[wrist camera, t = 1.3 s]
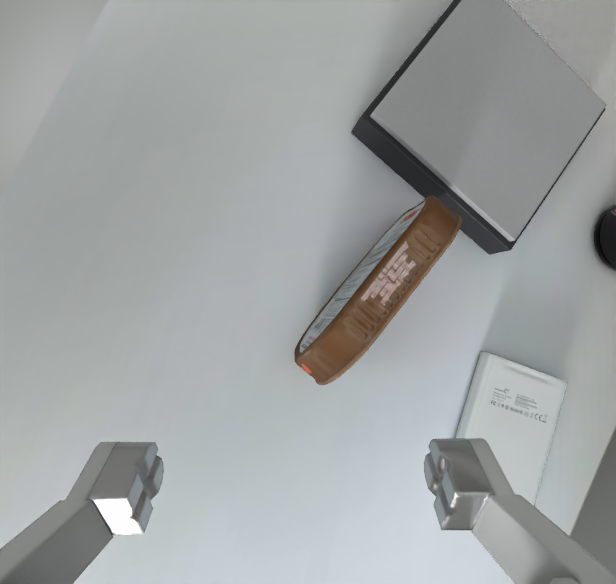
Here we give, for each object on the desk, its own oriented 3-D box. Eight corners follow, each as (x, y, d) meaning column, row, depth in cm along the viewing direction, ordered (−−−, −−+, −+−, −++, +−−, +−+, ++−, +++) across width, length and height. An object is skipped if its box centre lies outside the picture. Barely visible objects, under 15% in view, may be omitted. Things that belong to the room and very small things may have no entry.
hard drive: (435, 491, 29) (479, 350, 30) (516, 514, 30) (555, 378, 31) (446, 502, 27) (492, 353, 28) (531, 526, 29) (572, 383, 30)
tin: (310, 374, 27) (338, 405, 19) (279, 348, 27) (295, 370, 19) (422, 233, 29) (492, 206, 21) (395, 208, 29) (456, 170, 21)
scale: (350, 132, 28) (363, 112, 25) (458, -4, 31) (482, -37, 27) (489, 254, 30) (516, 249, 27) (581, 119, 33) (616, 100, 30)
